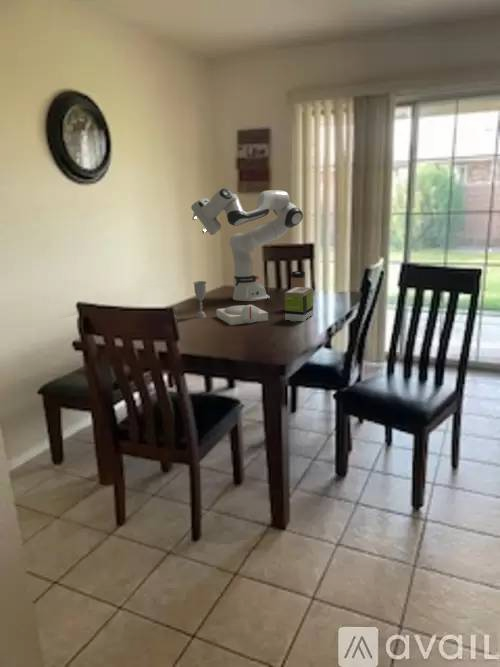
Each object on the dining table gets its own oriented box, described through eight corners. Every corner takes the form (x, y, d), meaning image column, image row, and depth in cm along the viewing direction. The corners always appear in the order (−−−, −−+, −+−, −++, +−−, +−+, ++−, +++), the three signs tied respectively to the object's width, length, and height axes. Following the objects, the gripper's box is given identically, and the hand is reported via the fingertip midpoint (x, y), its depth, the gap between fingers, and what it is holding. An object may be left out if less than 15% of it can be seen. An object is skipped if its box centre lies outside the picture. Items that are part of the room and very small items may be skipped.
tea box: (295, 314, 261) (295, 286, 257) (313, 315, 256) (314, 287, 252) (284, 320, 248) (284, 291, 244) (303, 322, 243) (303, 292, 239)
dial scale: (252, 312, 266) (251, 295, 264) (269, 321, 247) (269, 303, 245) (216, 316, 259) (216, 299, 256) (231, 325, 240) (231, 307, 237)
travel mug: (306, 307, 276) (306, 271, 270) (303, 310, 269) (303, 273, 264) (292, 306, 278) (292, 271, 273) (289, 309, 271) (289, 273, 266)
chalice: (195, 315, 263) (193, 281, 258) (208, 314, 264) (206, 280, 259) (194, 318, 256) (193, 283, 251) (208, 317, 257) (206, 283, 252)
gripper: (225, 225, 277) (212, 239, 287) (204, 195, 278) (191, 210, 287) (218, 227, 273) (205, 241, 282) (196, 197, 273) (184, 212, 283)
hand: (198, 225), depth 285 cm, fingers open, 8 cm apart
